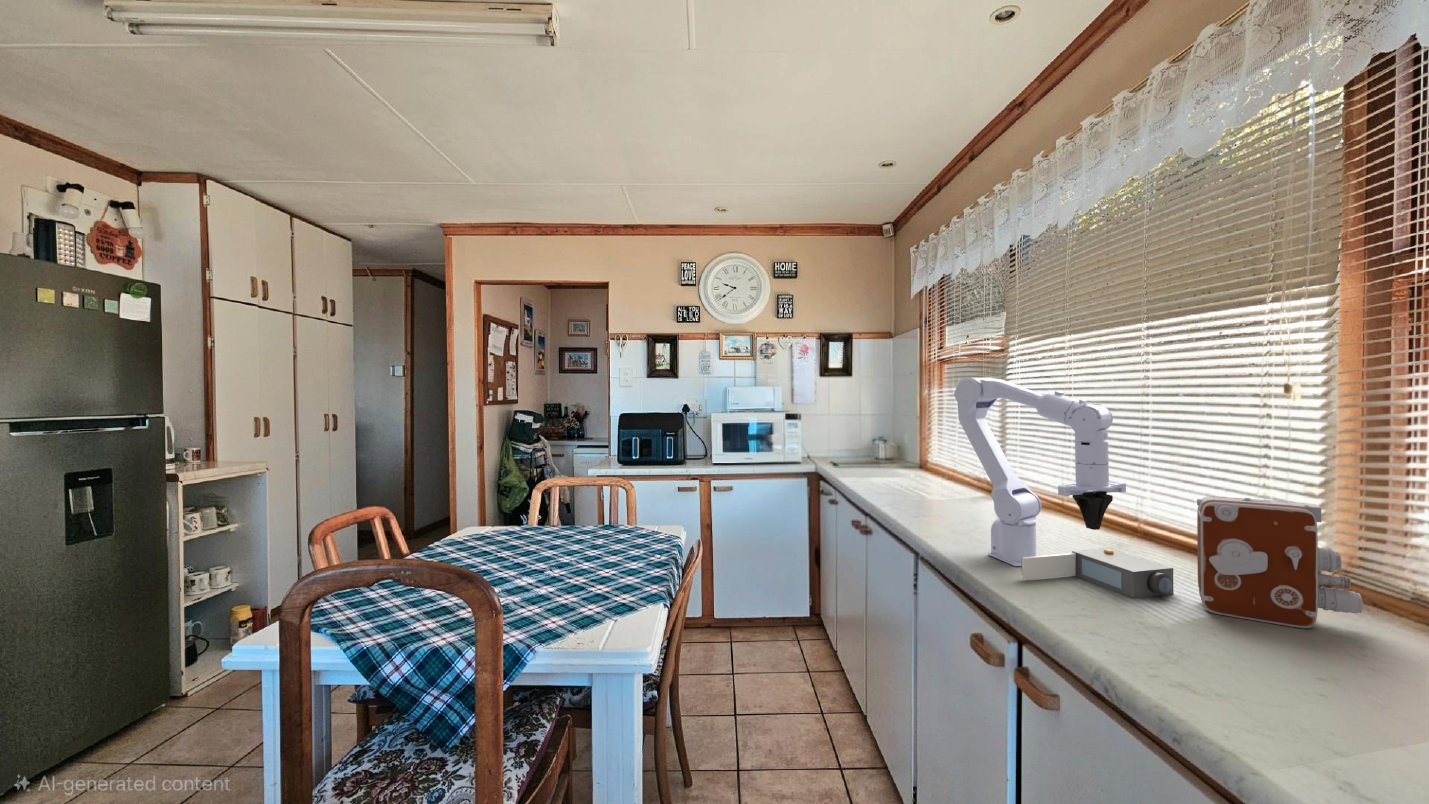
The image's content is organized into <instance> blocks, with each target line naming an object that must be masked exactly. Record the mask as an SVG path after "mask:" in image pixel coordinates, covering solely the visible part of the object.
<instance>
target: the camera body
mask: <svg viewBox="0 0 1429 804" xmlns="http://www.w3.org/2000/svg"><path fill="white" fill-rule="evenodd" d="M1071 553H1076V576H1075V577H1078V578H1081V579H1083V580H1086V581H1087V582H1088V581H1089V582H1091V583H1092V584H1093V583H1094V584H1096V585H1099V586H1101V587H1103V588H1106V589H1108V590H1111V591H1114V592H1116V593H1118V594H1119V593H1120V594H1122V595H1124V596H1127V597H1130V598H1132V599H1141V598H1149V597H1158V596H1162V597H1163V596H1164V597H1165V596H1169V595H1174V567H1172V566H1168V565H1166V564H1161V563H1158V562H1155V561H1152V560H1148V559H1145V558H1142V557H1140V556H1136V555H1132V554H1129V553H1126V552H1123V551H1120V550H1116V549H1113V548H1109V547H1105V548H1104V547H1103V548H1092V549H1080V550H1079V549H1078V550H1072V551H1071Z"/></svg>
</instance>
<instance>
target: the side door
mask: <svg viewBox="0 0 1429 804" xmlns="http://www.w3.org/2000/svg"><path fill="white" fill-rule="evenodd" d="M1021 563H1022V566H1021V579H1022V580H1024V581H1029V580H1041V579H1051V578H1062V577H1063V578H1064V577H1072V576H1075V577H1077V576H1076V553H1072V552H1067V553H1057V554H1044V555H1043V554H1042V555H1036V556H1032V557H1022V559H1021Z"/></svg>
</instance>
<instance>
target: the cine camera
mask: <svg viewBox="0 0 1429 804" xmlns="http://www.w3.org/2000/svg"><path fill="white" fill-rule="evenodd" d="M1196 505H1197V511H1196V513H1197V516H1196V520H1197V521H1196V523H1197V525H1196V526H1197V527H1196V530H1197V531H1196V533H1197V538H1196V539H1197V540H1196V541H1197V550H1196V551H1197V585H1198V593H1199V594H1198V595H1199V596H1200V600H1201V603H1202V606H1203V608H1204V609H1205V610H1206V611H1207V612H1209V613H1212V614H1215V615H1221V616H1224V617H1225V616H1226V617H1231V618H1237V619H1243V620H1250V621H1256V622H1261V623H1262V622H1263V623H1267V624H1273V625H1274V624H1275V625H1279V626H1287V627H1293V628H1299V629H1310V628H1313V627H1315V625H1316V623H1317V621H1318V620H1317V618H1318V612H1319V611H1318V610H1319V609H1322V610H1323V611H1332V612H1336V613H1339V612H1340V613H1346V614H1348V613H1350V614H1362V613H1363V608H1364V603H1363V598H1362V596H1361V594H1360V593H1359V592H1356V591H1351V590H1347V589H1351V586H1352V583H1351V578H1350V577H1349V576H1342V575H1338V576H1337V575H1332V574H1333V573H1334V572H1335V571H1341V569H1342V565H1343V564H1342V557H1341V554H1340V552H1339V551H1335V550H1333V549H1332V547H1326V548H1325V547H1319V546H1318V545H1319V544H1318V541H1319V540H1318V536H1319V535H1318V534H1319V533H1318V531H1319V530H1318V523H1322V507H1321V506H1319V505H1318V504H1315V503H1304V502H1292V501H1281V500H1272V499H1271V500H1268V499H1254V498H1253V499H1252V498H1250V497H1244V498H1243V497H1242V498H1241V497H1227V496H1204V497H1201V499H1200V498H1197V499H1196ZM1321 571H1323V572H1324V571H1325V572H1328V573H1332V574H1327V573H1325V574H1324V573H1320V572H1321ZM1320 586H1321V587H1320ZM1331 586H1333V587H1331ZM1337 587H1340V589H1339V588H1337Z"/></svg>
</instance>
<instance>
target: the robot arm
mask: <svg viewBox="0 0 1429 804" xmlns="http://www.w3.org/2000/svg"><path fill="white" fill-rule="evenodd" d="M1064 394H1065V392H1063V391H1060V390H1055V391H1049V392H1048V391H1047V392H1046V393H1044V394H1041V393H1038V392H1036V391H1033V390H1031V389H1028V388H1025V387H1023V386H1020V385H1018V384H1015V383H1012V382H1010V381H1007V380H1004V379H999V378H993V377H990V376H987V377H985V376H984V377H971V376H970V377H968V376H967V377H964V378H962V379H960V380H959V381H958V383H957V385H956V387H955V390H954V393H953V396H954V398H955V400H956V402H957V404H956V405H957V417H958V422H959V423H960V425H961V428H962V429H963V431H964V432H965V435H966V437H967V439H968V441H969V442H970V444H971V446H972V448H973V450H974V452H975V454H976V456H977V457H978V460H979V462H980V463H981V465H982V467H983V468H984V471H985V473H986V475H987V477H988V478H989V481H990V483H991V484H992V487H993V488H992V490H991V493H990V497H991V499H992V501H993V509H994V510H993V511H994V513H995V514H996V517H997V518H996V519H995V520H994V521H993V522H992V524H991V528H990V551H991V552H988V553H987V555H988V556H991V557H993V558H996V559H998V560H1000V561H1002V562H1004V563H1007V564H1009V565H1012V566H1014V567H1022V563H1021V559H1022V557H1032V556H1037V516H1038V515H1040V513H1041V510H1042V501H1041V499H1040V498H1039V496H1038V495H1037V494H1035V493H1034V492H1033V491H1032V490H1031V489H1030V488H1029V486H1028V484H1027V483H1026V482H1024V481H1023V480H1022V479H1019V477H1017V475H1016V474H1015V471H1014V470H1013V468H1012V466H1011V464H1010V463H1009V460H1008V459H1007V457H1006V455H1005V453H1004V452H1003V450H1002V447H1001V446H1000V444H999V442H998V441H997V438H996V437H995V435H994V433H993V431H992V430H991V428H990V426H989V424H988V422H987V420H986V416H987V414H988V412H989V410H990V409H991V407H992V406H993V405H994V404H995V402H996V401H997V400H998V399H1006V400H1009V401H1012V402H1015V403H1019V404H1022V405H1026V406H1028V407H1031V408H1034V409H1036V411H1037V414H1038V415H1039V416H1041V417H1042V418H1046V419H1048V420H1052V421H1054V422H1057V423H1058V424H1062V425H1065V426H1067V427H1070V428H1071V429H1072V430H1073V431H1074V457H1075V458H1074V465H1075V468H1074V469H1075V482H1071V483H1067V484H1062V485H1057V494H1058V496H1063V497H1070V496H1072V499H1073V501H1075V503H1076V505H1077V507H1078V508H1079V510H1080V512H1081V515H1082V519H1083V521H1084V524H1085V527H1086V529H1089V530H1093V531H1095V530H1096V531H1097V530H1100V529H1101V525H1102V522H1103V519H1104V516H1105V513H1106V511H1107V509H1108V507H1109V505H1110V504H1111V503H1112V502H1113V500H1114V497H1113V495H1112V494H1110V493H1127V483H1126V482H1121V481H1110V479H1109V478H1110V477H1109V476H1110V472H1109V468H1110V467H1109V462H1110V461H1109V430H1108V429H1110V427H1111V425H1112V424H1113V420H1114V419H1113V413H1112V412H1111V411H1110V409H1108V408H1107V407H1105V406H1103V405H1102V404H1099V403H1094V404H1089V405H1088V403H1087V402H1088V401H1087V400H1086V399H1082V398H1081V399H1079V400H1078V399H1075V398H1072V397H1069V396H1066V395H1064ZM1107 493H1108V494H1107Z"/></svg>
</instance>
